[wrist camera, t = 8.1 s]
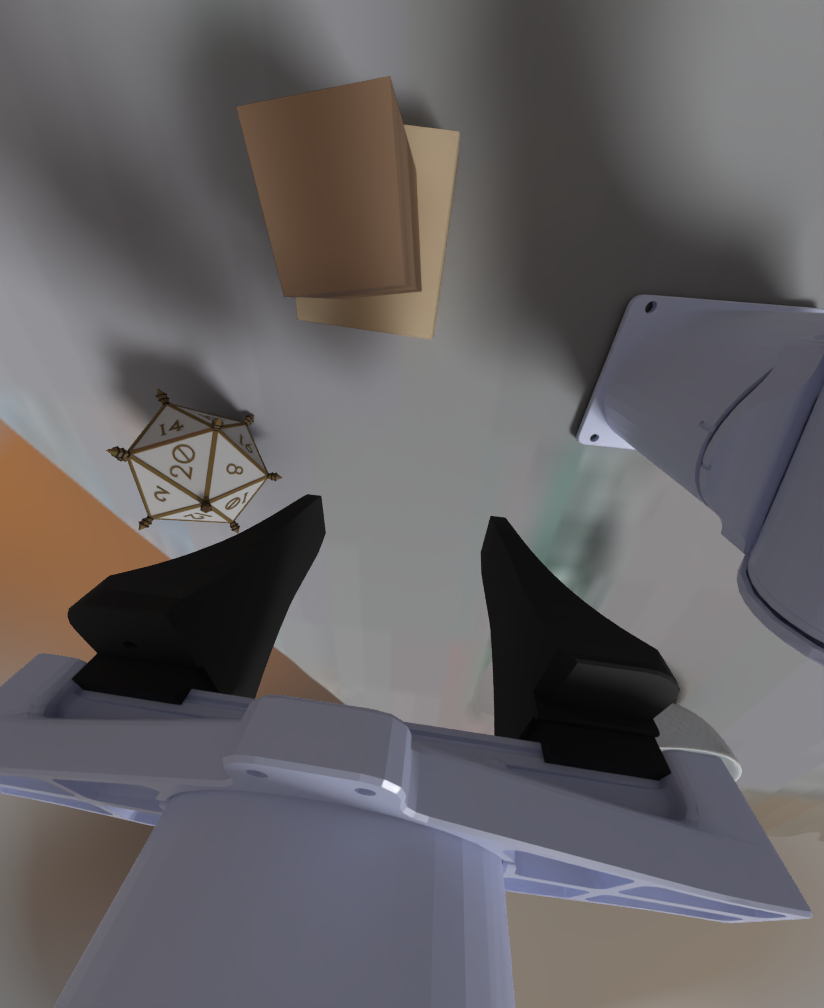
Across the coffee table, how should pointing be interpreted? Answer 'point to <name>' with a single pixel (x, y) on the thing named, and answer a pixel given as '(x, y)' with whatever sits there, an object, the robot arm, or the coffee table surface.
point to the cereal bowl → (693, 736)
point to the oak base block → (435, 197)
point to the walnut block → (337, 190)
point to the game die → (194, 466)
